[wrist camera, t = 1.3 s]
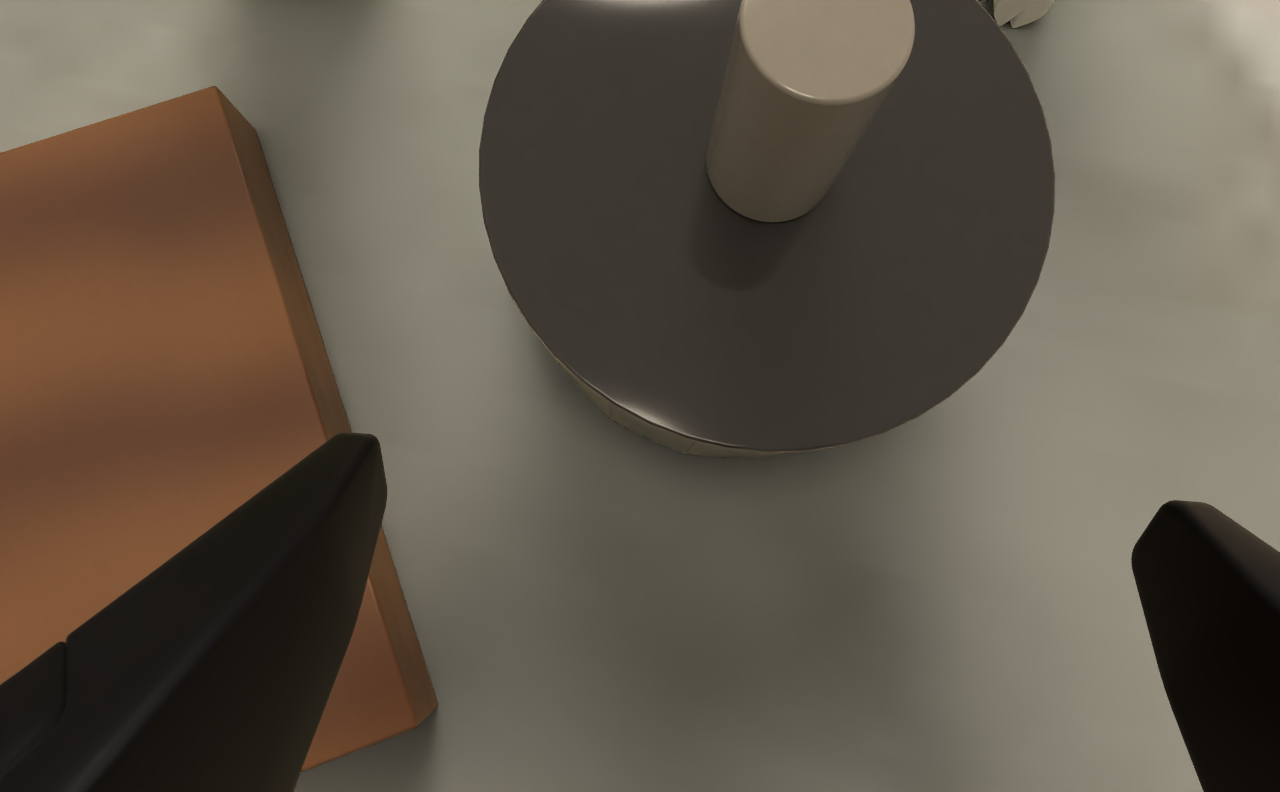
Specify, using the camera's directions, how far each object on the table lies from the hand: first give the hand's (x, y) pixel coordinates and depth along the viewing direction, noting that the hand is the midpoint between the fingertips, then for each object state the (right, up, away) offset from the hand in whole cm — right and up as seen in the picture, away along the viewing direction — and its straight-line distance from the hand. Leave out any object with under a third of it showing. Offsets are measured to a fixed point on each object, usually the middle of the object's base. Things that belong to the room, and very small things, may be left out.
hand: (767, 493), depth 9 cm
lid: (+1, +6, +9) cm, 11 cm away
